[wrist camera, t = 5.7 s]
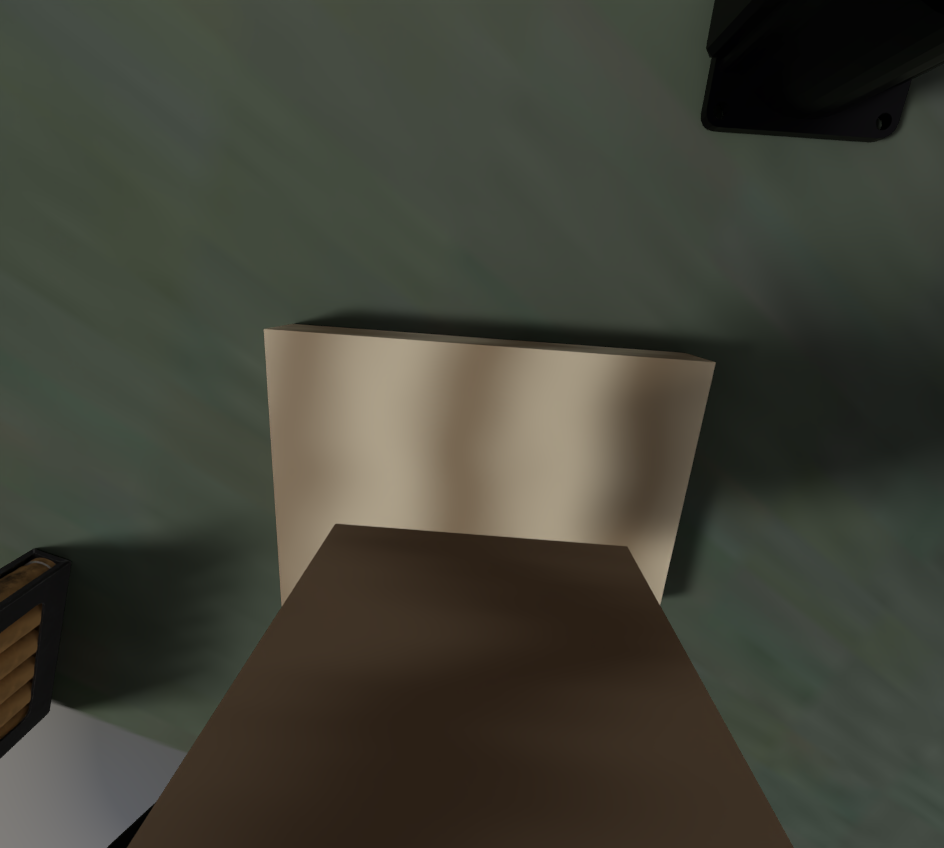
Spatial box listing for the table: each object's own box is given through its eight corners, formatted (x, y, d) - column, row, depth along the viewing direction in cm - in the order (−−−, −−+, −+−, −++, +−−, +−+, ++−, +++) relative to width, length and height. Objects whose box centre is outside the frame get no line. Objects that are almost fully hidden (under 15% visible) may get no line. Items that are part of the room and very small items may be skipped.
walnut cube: (627, 546, 9) (869, 986, 3) (584, 761, 11) (697, 1293, 5) (335, 523, 9) (80, 920, 3) (339, 741, 11) (176, 1246, 5)
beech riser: (685, 352, 18) (715, 362, 16) (633, 600, 22) (652, 640, 19) (293, 323, 18) (263, 328, 16) (304, 575, 22) (282, 611, 19)
